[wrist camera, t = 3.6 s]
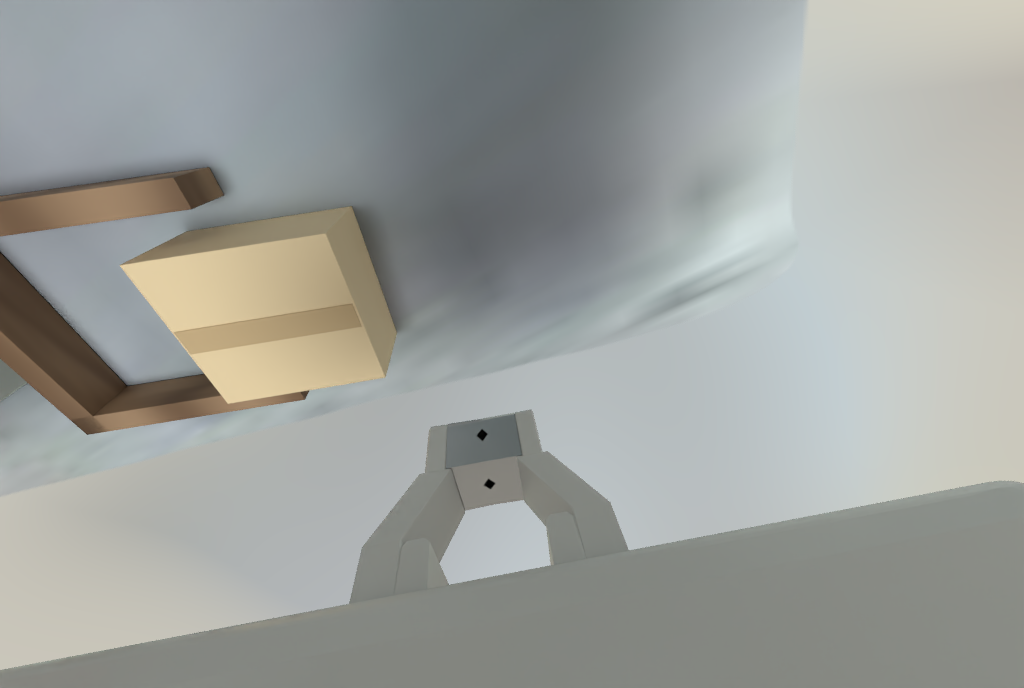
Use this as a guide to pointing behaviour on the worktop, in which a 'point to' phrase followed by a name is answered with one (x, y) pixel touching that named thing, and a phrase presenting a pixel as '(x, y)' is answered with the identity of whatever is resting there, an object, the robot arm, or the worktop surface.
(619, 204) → the worktop surface
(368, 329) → the carton
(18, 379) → the ink box
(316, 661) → the robot arm
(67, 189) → the brown u-shaped frame
